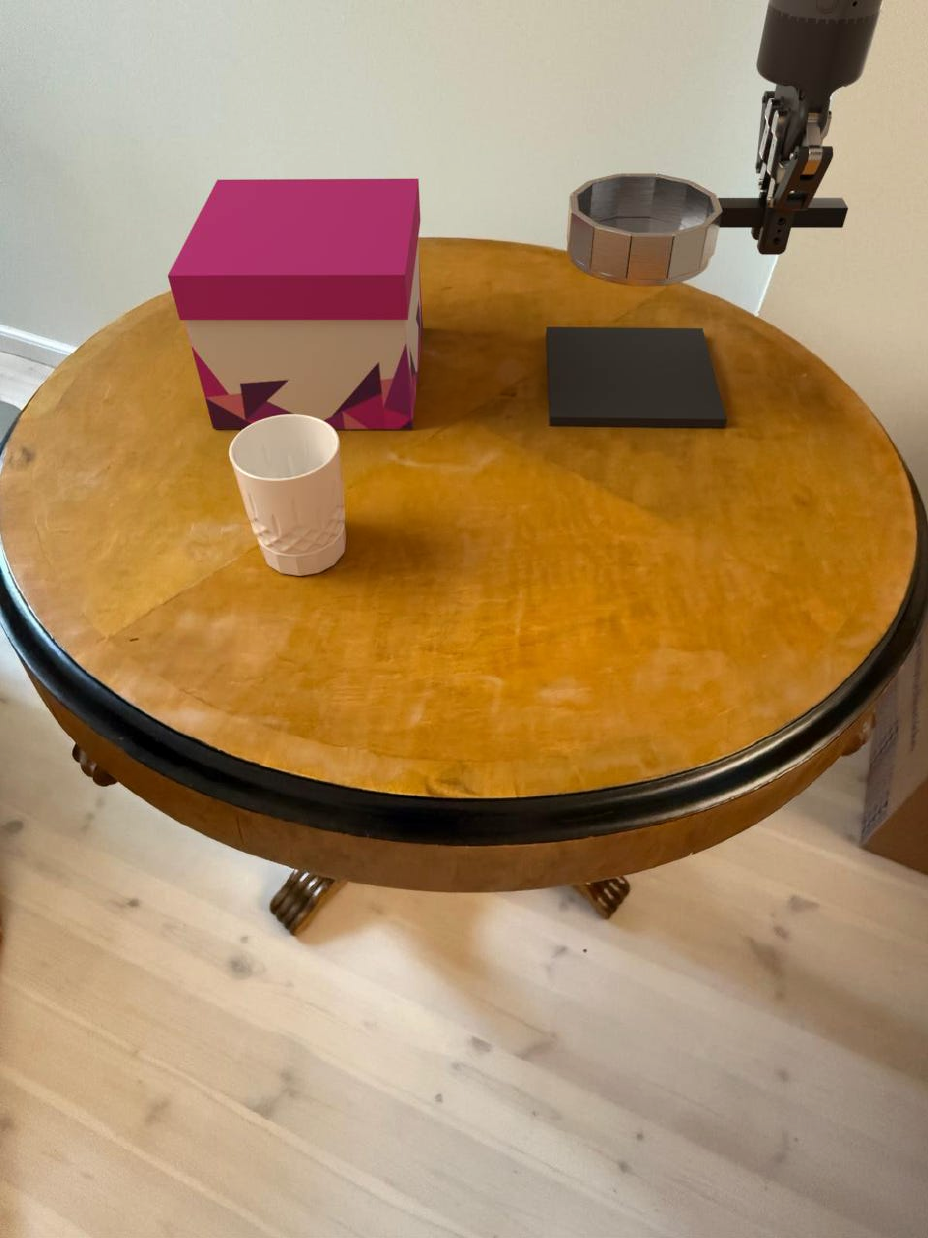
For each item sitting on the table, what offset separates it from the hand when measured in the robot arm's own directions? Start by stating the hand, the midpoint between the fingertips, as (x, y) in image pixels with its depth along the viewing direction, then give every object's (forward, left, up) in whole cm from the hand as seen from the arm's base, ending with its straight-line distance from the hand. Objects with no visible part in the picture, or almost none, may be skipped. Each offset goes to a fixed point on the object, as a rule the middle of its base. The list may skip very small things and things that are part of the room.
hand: (766, 244), depth 75 cm
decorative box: (+39, -3, -15) cm, 42 cm away
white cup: (+37, +22, -15) cm, 46 cm away
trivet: (+9, -3, -15) cm, 18 cm away
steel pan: (+6, 0, -1) cm, 6 cm away
